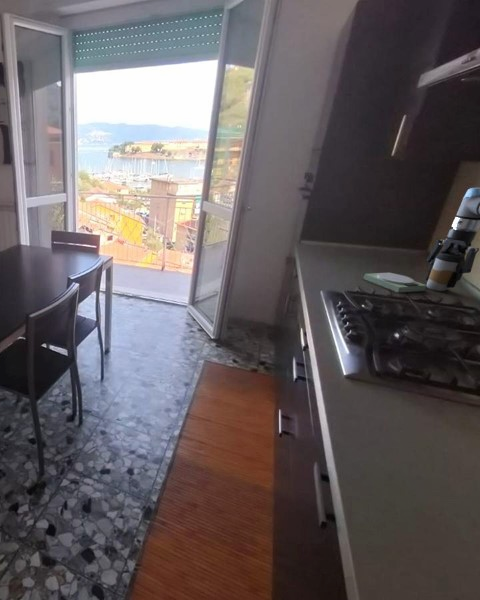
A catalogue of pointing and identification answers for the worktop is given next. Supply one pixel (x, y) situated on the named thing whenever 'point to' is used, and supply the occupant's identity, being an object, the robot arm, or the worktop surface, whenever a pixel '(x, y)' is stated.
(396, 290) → the kitchen scale
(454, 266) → the coffee cup
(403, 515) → the worktop surface
